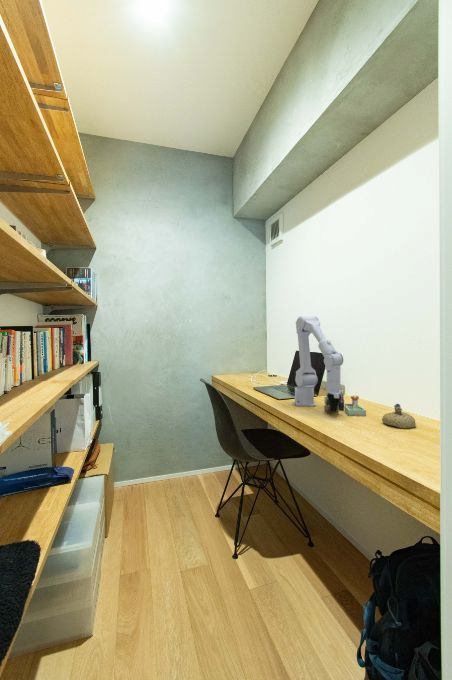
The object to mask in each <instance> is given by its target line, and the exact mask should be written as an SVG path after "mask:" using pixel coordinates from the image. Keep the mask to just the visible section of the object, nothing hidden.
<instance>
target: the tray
mask: <svg viewBox="0 0 452 680" xmlns="http://www.w3.org/2000/svg"><path fill="white" fill-rule="evenodd" d="M344 412H345V413H346V415H347V416H352V417H367V409H365V407H363V406H360V405H359V406H358V410H352V406H345V405H344Z"/></svg>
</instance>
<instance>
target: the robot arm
mask: <svg viewBox="0 0 452 680" xmlns="http://www.w3.org/2000/svg"><path fill="white" fill-rule="evenodd" d="M320 326H321V321H320V319H319V318H318V317H317V316H299V317H298V318H297V319H296V321H295V330H296V334H297V344H298V354H299V355H298V356H299V365H300V367H299V368H298V369H297V370H296V371H295V379H294V381H295V384H296V386H294V404H295V406H299V407H300V406H301V407H316V403H315V387H316V385H317V384H318V381H319V379H318V376H317V372H316V370H315V369H314V368H313V367H312V363H311V362H312V361H311V360H312V359H311V352H310V351H311V350H310V349H311V348H310V339H309V338H310V337H309V336H310V335H311V334H312V335H313V337H314V338H315V339H316V341H317V342H318V346H317V347H318V349H319V350H320V352H321V354H322V355H323V358H324V359H323V363H324V365H325V370H326V390H325V391H326V397H328V400H329V404H330V409H331V411H337V406H338V403H339V400H340V399H341V396H340V395H339V394H340V393H341V392H342V393H344V390H343V389H342V390H341V367H342V365H343V364H344V356H343V354H342V353H341V352H339V351H337V350H336V349H335V347H334V345H333V344H332V342H331V341H330V340H329V339H326V337H325V334H324V333H323V331H322V329H321V327H320ZM338 407H339V406H338Z"/></svg>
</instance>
